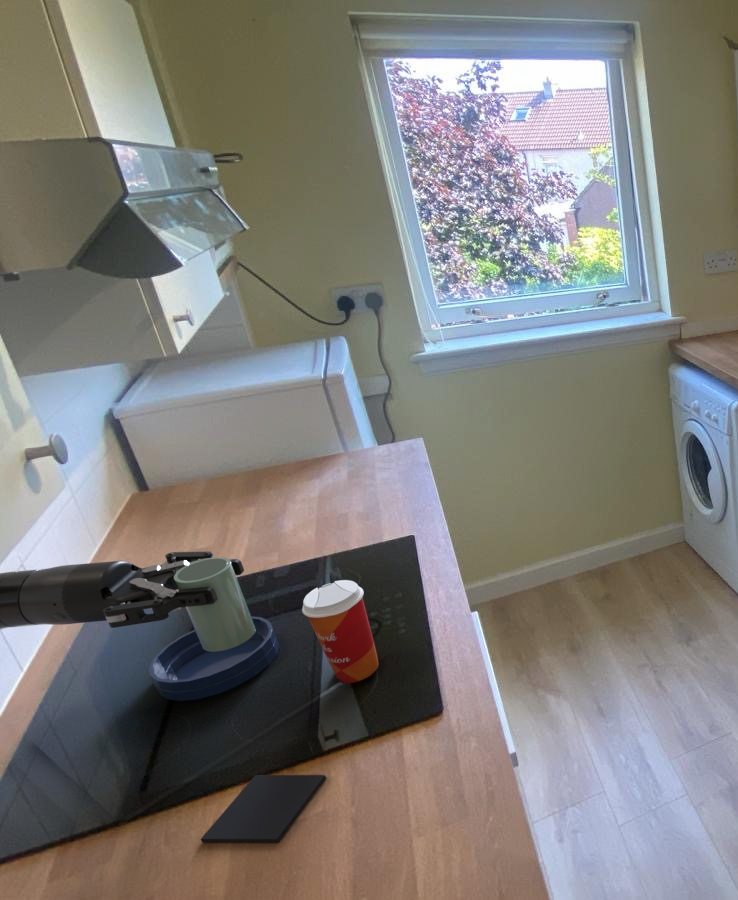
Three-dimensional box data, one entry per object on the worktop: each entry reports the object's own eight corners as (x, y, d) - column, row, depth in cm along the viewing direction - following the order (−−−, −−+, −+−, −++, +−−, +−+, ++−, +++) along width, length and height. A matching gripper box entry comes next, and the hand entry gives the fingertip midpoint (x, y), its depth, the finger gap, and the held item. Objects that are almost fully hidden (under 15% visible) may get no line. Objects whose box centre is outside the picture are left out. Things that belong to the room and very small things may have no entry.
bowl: (189, 717, 102) (178, 695, 101) (140, 682, 109) (129, 661, 107) (300, 654, 114) (292, 633, 112) (249, 626, 121) (241, 606, 119)
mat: (202, 842, 84) (200, 839, 84) (256, 778, 92) (255, 774, 92) (278, 842, 84) (276, 839, 83) (326, 778, 92) (325, 774, 92)
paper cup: (323, 669, 110) (294, 592, 105) (379, 646, 115) (354, 571, 109) (335, 696, 105) (305, 617, 99) (393, 671, 110) (367, 594, 104)
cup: (206, 658, 96) (177, 588, 92) (198, 637, 100) (170, 569, 95) (260, 637, 100) (235, 569, 95) (250, 618, 104) (225, 551, 99)
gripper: (27, 602, 86) (187, 587, 89) (110, 539, 99) (247, 528, 102) (54, 653, 89) (207, 637, 92) (130, 585, 102) (263, 574, 105)
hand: (227, 580), depth 97 cm, fingers closed on cup, 6 cm apart
